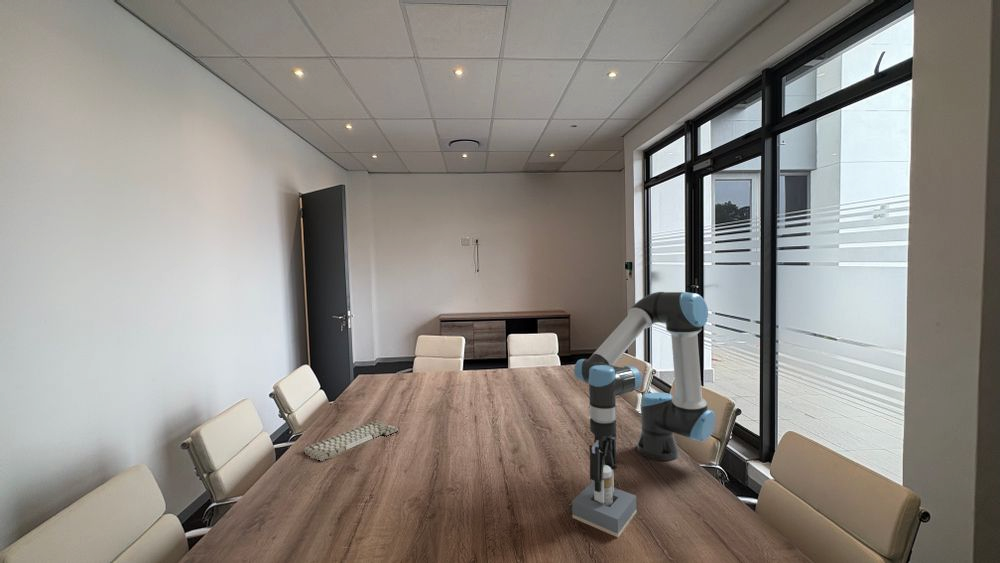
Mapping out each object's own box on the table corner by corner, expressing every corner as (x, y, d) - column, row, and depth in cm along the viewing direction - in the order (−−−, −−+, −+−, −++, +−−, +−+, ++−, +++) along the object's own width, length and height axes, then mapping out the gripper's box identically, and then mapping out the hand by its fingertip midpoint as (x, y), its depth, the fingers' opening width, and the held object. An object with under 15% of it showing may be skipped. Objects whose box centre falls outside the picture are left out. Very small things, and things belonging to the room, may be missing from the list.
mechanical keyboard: (324, 467, 148) (323, 458, 148) (300, 454, 159) (299, 446, 159) (401, 433, 178) (401, 426, 178) (376, 424, 190) (376, 418, 190)
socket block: (593, 495, 123) (593, 480, 123) (636, 512, 114) (636, 495, 114) (572, 517, 112) (572, 501, 112) (618, 537, 104) (617, 519, 103)
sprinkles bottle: (602, 504, 116) (600, 462, 116) (616, 510, 113) (614, 467, 112) (594, 512, 113) (592, 468, 112) (609, 519, 110) (606, 474, 109)
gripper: (604, 406, 123) (605, 477, 123) (575, 426, 108) (577, 506, 108) (627, 411, 118) (628, 485, 118) (600, 432, 103) (602, 516, 104)
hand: (604, 495), depth 113 cm, fingers open, 6 cm apart
